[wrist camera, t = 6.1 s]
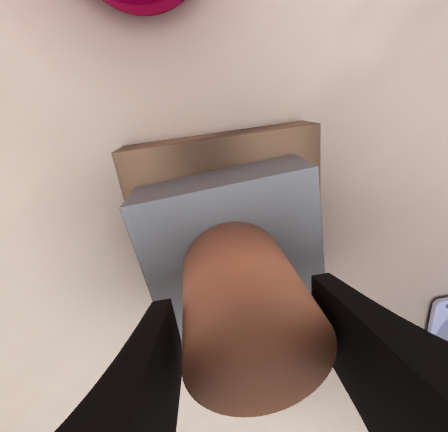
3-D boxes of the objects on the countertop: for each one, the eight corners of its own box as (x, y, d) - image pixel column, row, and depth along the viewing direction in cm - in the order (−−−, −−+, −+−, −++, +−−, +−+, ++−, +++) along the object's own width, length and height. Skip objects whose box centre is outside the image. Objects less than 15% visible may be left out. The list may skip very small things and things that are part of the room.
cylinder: (278, 213, 12) (339, 284, 7) (283, 298, 13) (335, 399, 9) (174, 231, 11) (166, 316, 7) (192, 315, 13) (196, 430, 8)
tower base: (299, 120, 16) (320, 123, 13) (302, 266, 20) (319, 292, 17) (126, 144, 16) (111, 153, 13) (163, 288, 20) (157, 319, 17)
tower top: (293, 153, 14) (318, 166, 11) (305, 284, 17) (327, 320, 14) (134, 186, 14) (119, 208, 11) (176, 312, 17) (171, 354, 14)
